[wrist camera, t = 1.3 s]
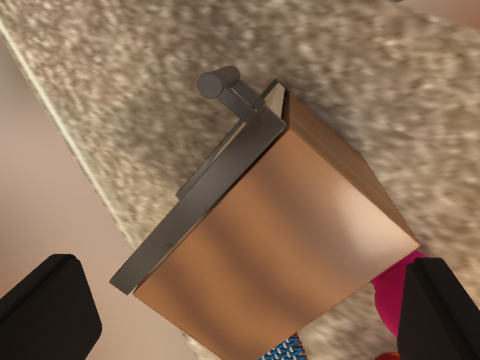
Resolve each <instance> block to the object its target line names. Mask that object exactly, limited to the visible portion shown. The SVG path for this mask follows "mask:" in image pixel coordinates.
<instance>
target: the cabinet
mask: <svg viewBox="0 0 480 360" xmlns="http://www.w3.org/2000/svg"><path fill="white" fill-rule="evenodd" d="M277 83H280V82H279V81H278V80H277V79H275V80H274V81H273V82H272V83H271V84H270V85H269V87H268V88H267V89H266V90H265V91H264V92H263V94H262V95H261V96H260V97H262V98H263V99H264V98H265V97H266V96H267V95H268V94H269V93H270V92H271V90H272V89H273V88H274V87H275V86H276V85H277ZM280 84H281V83H280ZM281 85H282V84H281ZM282 86H283V85H282ZM283 87H284V86H283ZM284 88H285V87H284ZM287 92H288V89H286V88H285V90H284V95H285V94H286V93H287ZM251 107H252V108H253V109H254V110H255V108H254V107H253V106H251ZM243 123H244V121H243V120H242V119H240V120H239V122H238V123H237V124H236V125H235V126H234V127H233V129H232V130H231V131H230V132H229V133H228V134H227V136H226V137H225V138H224V139H223V140H222V141H221V143H220V144H219V145H218V146H217V147H216V148H215V150H214V151H213V152H212V153H211V154H210V155H209V157H208V158H207V159H206V160H205V161H204V162H203V164H202V165H201V166H200V167H199V168H198V169H197V171H196V172H195V173H194V174H193V175H192V176H191V178H190V179H189V180H188V181H187V182H186V183H185V185H184V186H183V187H182V188H181V189H180V191H179V192H178V193H177V194H176V195H175V196H176V197H178V198H179V199H180V200H179V201H178V202H177V204H176V205H175V206H174V207H173V208H172V209H171V210H170V212H169V213H168V214H167V215H166V216H165V217H164V219H163V220H162V221H161V222H160V223H159V224H158V225H157V227H156V228H155V229H154V230H153V231H152V232H151V233H150V235H149V236H148V237H147V238H146V239H145V240H144V241H143V243H142V244H141V245H140V246H139V247H138V248H137V250H136V251H135V252H134V253H133V254H132V255H131V256H130V258H129V259H128V260H127V261H126V262H125V263H124V264H123V266H122V267H121V268H120V269H119V270H118V271H117V272H116V274H115V275H114V276H113V277H112V278H111V280H110V281H109V283H111V284H112V285H113V286H115V287H116V288H118V289H119V290H120V291H122V292H123V293H124V294H126V295H128V294H129V293H130V292H131V291H132V290H133V289H134V288H135V287H136V286H137V285H138V286H137V287H136V289H135V291H134V292H133V295H134V296H135V297H136V298H138V299H139V300H141V301H142V302H143V303H145V304H146V305H147V306H149V307H150V308H152V309H153V310H154V311H156V312H157V313H159V314H160V315H161V316H163V317H164V318H166V319H167V320H168V321H170V322H171V323H172V324H174V325H175V326H177V327H178V328H179V329H181V330H182V331H183V332H185V333H186V334H188V335H189V336H190V337H192V338H193V339H195V340H196V341H197V342H199V343H200V344H202V345H203V346H204V347H206V348H207V349H208V350H210V351H211V352H213V353H214V354H215V355H217V356H218V357H220V358H221V359H222V360H257V359H259V358H260V357H262V356H263V355H265V354H266V353H267V352H269V351H270V350H272V349H273V348H275V347H276V346H277V345H279V344H280V343H282V342H283V341H285V340H286V339H288V338H289V337H290V336H292V335H293V334H295V333H296V332H298V331H299V330H301V329H302V328H303V327H305V326H306V325H308V324H309V323H311V322H312V321H313V320H315V319H316V318H318V317H319V316H321V315H322V314H324V313H325V312H326V311H328V310H329V309H331V308H332V307H334V306H335V305H337V304H338V303H339V302H341V301H342V300H344V299H345V298H347V297H348V296H349V295H351V294H352V293H354V292H355V291H357V290H358V289H360V288H361V287H362V286H364V285H365V284H367V283H368V282H370V281H371V280H373V279H374V278H375V277H377V276H378V275H380V274H381V273H383V272H384V271H385V270H387V269H388V268H390V267H391V266H393V265H394V264H396V263H397V262H398V261H400V260H401V259H403V258H404V257H406V256H407V255H409V254H410V253H411V252H413V251H414V250H416V249H417V248H419V247H420V246H421V244H420V243H419V241H418V240H417V238H416V237H415V235H414V234H413V232H412V231H411V229H410V228H409V226H408V225H407V223H406V222H405V220H404V219H403V217H402V215H401V214H400V212H399V211H398V209H397V208H396V206H395V205H394V203H393V202H392V200H391V199H390V197H389V196H388V194H387V193H386V191H385V190H384V188H383V187H382V185H381V184H380V182H379V180H378V179H377V177H376V176H375V174H374V173H373V171H372V170H371V168H370V167H369V165H368V164H367V162H366V161H365V160H364V159H363V158H362V157H360V156H359V155H358V154H357V153H356V152H355V151H354V150H353V149H352V148H351V147H350V146H348V145H347V144H346V143H345V142H344V141H343V140H342V139H341V138H340V137H339V136H338V135H336V134H335V133H334V132H333V131H332V130H331V129H330V128H329V127H328V126H327V125H326V124H325V123H323V122H322V121H321V120H320V119H319V118H318V117H317V116H316V115H315V114H314V113H313V112H311V111H310V110H309V109H308V108H307V107H306V106H305V105H304V104H303V103H302V102H301V101H299V100H298V99H297V98H296V97H295V96H294V95H293V94H292V93H291V92H290V93H289V94H288V95H287V96H286V97H285V98H284V99H283V105H282V112H281V118H280V117H279V116H278V115H277V114H275V113H274V112H273V111H272V110H271V109H270V108H269V107H268V106H267V105H265V104H263V105H262V106H261V107H260V108H259V109H258V111H257V112H256V113H255V114H254V115H253V116H252V118H251V119H250V120H249V121H248V122H247V123H246V124H245V126H244V127H243V128H242V129H241V130H240V131H239V132H238V134H237V135H236V136H235V137H234V138H233V139H232V140H231V142H230V143H229V144H228V145H227V146H226V147H225V149H224V150H223V151H222V152H221V153H220V154H219V155H218V157H217V158H216V159H215V160H214V158H215V157H216V155H217V154H218V152H219V151H220V149H221V148H222V147H223V146H224V145H225V144H226V142H227V141H228V140H229V139H230V138H231V137H232V135H233V134H234V133H235V132H236V131H237V130H238V129H239V127H240V126H241V125H242V124H243ZM213 160H214V161H213ZM212 161H213V162H212ZM210 164H211V165H210Z"/></svg>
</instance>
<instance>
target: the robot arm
mask: <svg viewBox="0 0 480 360" xmlns="http://www.w3.org/2000/svg"><path fill="white" fill-rule="evenodd" d="M101 332H102V323H101V320H100V318H99V314H98V312H97V309H96V306H95V303H94V300H93V297H92V294H91V291H90V288H89V285H88V282H87V279H86V277H85V274H84V271H83V268H82V265H81V262H80V261H79V260H78V259H77V258H76V257H75V256H74V255H72V254H53V255H51V256H49V257H48V258H47V259H46V260H45V261H44V262H42V263H41V264H40V265H39V266H38V267H37V268H35V269H34V270H33V271H32V272H31V273H30V274H29V275H27V276H26V277H25V278H24V279H23V280H22V281H21V282H19V283H18V284H17V285H16V286H15V287H14V288H13V289H11V290H10V291H9V292H8V293H7V294H6V295H5V296H3V297H2V298H1V299H0V360H85V359H86V357H87V356H88V354H89V353H90V351H91V350H92V348H93V346H94V345H95V343H96V342H97V340H98V339H99V337H100V335H101ZM397 346H398V352H399V355H400V358H401V360H480V310H479V309H478V308H477V306H476V305H475V303H474V302H473V301H472V299H471V298H470V296H469V295H468V294H467V292H466V291H465V289H464V288H463V286H462V285H461V284H460V282H459V281H458V279H457V278H456V277H455V275H454V274H453V272H452V271H451V270H450V268H449V267H448V265H447V264H446V263H445V261H444V260H443V259H442V258H430V257H417V258H415V259H414V262H413V263H408V264H407V265H406V271H405V280H404V288H403V296H402V304H401V312H400V321H399V329H398V337H397Z"/></svg>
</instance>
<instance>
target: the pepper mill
mask: <svg viewBox="0 0 480 360" xmlns="http://www.w3.org/2000/svg"><path fill="white" fill-rule="evenodd" d="M417 257H426V256H425V255H424V254H422V253H421V252H419V251H415V250H414V251H413V252H411V253H410V254H409V255H407V256H406V257H404V258H403V259H401V260H400V261H398V262H397V263H396V264H394V265H393V266H391V267H390V268H388V269H387V270H385V271H384V272H383V273H381V274H380V275H378V276H377V277H375V278H374V279H373V280H372V282H373V285H374V287H375V290H376V292H375V305H376V309H377V311H378V313H379V315H380V317H381V319H382V321H383V322H384V323H385V325H386V326H387V327H388V329H389V330H390V331H391V332H392V333H393V334H394V335H395V336H396V337H398V329H399V321H400V312H401V304H402V296H403V288H404V280H405V271H406V265H407V264H408V263H413V262H414V259H415V258H417Z"/></svg>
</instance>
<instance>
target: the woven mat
mask: <svg viewBox="0 0 480 360" xmlns="http://www.w3.org/2000/svg"><path fill="white" fill-rule="evenodd" d="M296 336H297V332H296V333H295V334H293V335H292V336H290V337H289V338H288V339H286V340H285V341H283V342H282V343H280V344H279V345H277V346H276V347H275V348H273V349H272V350H270V351H269V352H267V353H266V354H265V355H263V356H262V357H260V358H259V359H257V360H306V359H307V358H306V355H303V353H305V350H304V349H303V347H302V346H299V345H300V344H301V342H300V341H299V337H298V336H297V337H296ZM291 341H292V342H291Z"/></svg>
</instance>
